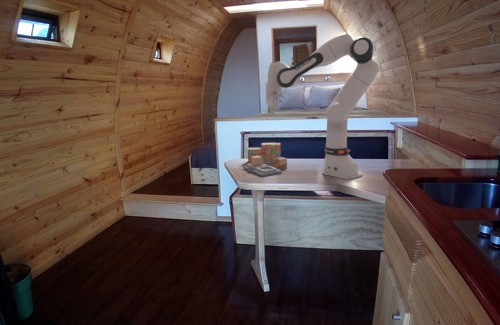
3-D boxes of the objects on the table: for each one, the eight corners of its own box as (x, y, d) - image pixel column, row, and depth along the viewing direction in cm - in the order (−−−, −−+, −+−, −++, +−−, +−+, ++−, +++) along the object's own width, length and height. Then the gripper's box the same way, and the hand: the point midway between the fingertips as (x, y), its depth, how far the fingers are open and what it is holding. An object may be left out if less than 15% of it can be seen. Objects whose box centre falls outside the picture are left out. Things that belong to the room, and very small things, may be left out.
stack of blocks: (247, 163, 204) (247, 144, 201) (248, 161, 210) (247, 143, 207) (280, 162, 202) (280, 144, 199) (280, 160, 208) (280, 142, 205)
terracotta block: (286, 168, 189) (286, 158, 187) (280, 169, 186) (279, 159, 185) (282, 166, 193) (282, 157, 192) (275, 167, 191) (275, 158, 189)
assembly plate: (281, 173, 178) (281, 160, 176) (262, 176, 172) (261, 163, 170) (261, 165, 197) (261, 153, 195) (243, 168, 191) (242, 156, 189)
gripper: (282, 92, 172) (278, 117, 176) (275, 89, 191) (272, 112, 195) (271, 91, 171) (267, 116, 175) (265, 88, 190) (262, 111, 194)
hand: (270, 114), depth 185 cm, fingers open, 8 cm apart
